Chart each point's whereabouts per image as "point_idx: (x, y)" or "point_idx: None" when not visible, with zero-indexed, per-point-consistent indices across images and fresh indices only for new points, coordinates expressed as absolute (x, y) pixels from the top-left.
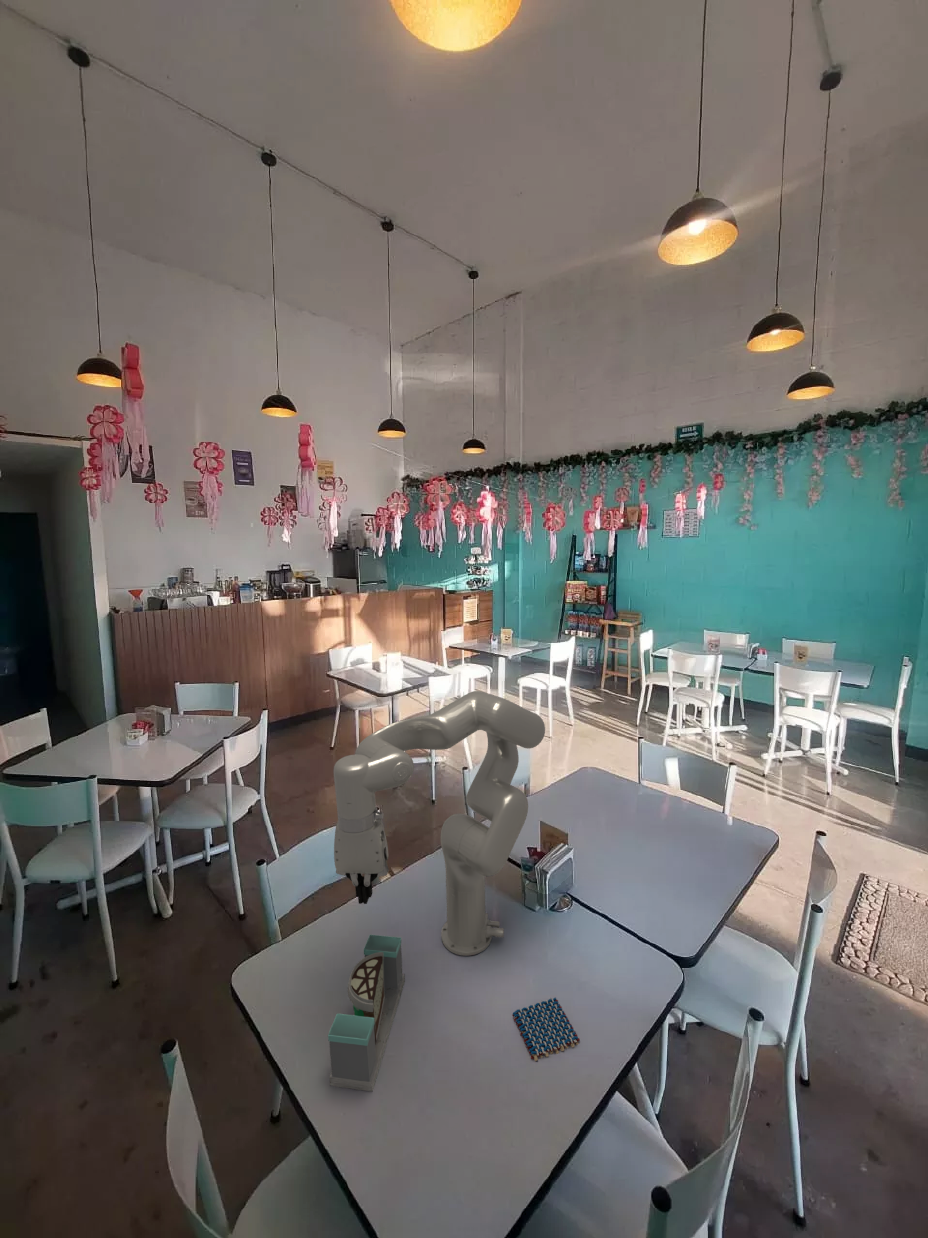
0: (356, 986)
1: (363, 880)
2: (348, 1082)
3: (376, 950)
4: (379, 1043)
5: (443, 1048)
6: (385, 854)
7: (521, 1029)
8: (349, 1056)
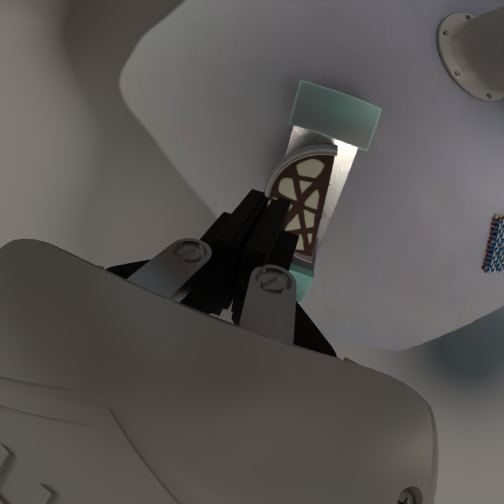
0: None
1: (231, 271)
2: None
3: (320, 132)
4: (323, 219)
5: (406, 229)
6: (423, 435)
7: (491, 246)
8: None
